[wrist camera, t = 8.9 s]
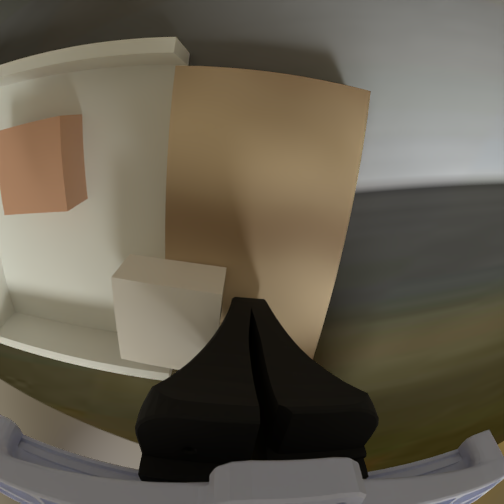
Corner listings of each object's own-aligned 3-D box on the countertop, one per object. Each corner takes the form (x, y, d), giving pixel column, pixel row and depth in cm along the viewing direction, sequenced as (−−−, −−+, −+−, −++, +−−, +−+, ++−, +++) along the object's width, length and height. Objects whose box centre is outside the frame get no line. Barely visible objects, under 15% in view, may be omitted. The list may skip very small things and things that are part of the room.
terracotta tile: (4, 215, 11) (26, 202, 13) (67, 211, 11) (87, 198, 13) (-5, 132, 9) (19, 127, 11) (59, 115, 10) (82, 114, 11)
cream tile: (217, 344, 14) (213, 375, 12) (134, 330, 14) (121, 358, 12) (226, 267, 12) (222, 294, 10) (129, 253, 12) (111, 276, 10)
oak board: (301, 339, 17) (309, 369, 15) (177, 330, 17) (169, 361, 14) (348, 94, 12) (370, 91, 10) (187, 74, 11) (175, 65, 9)
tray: (177, 343, 17) (169, 381, 14) (14, 314, 16) (-8, 340, 13) (189, 53, 11) (176, 36, 8) (-12, 81, 10) (-47, 83, 7)
